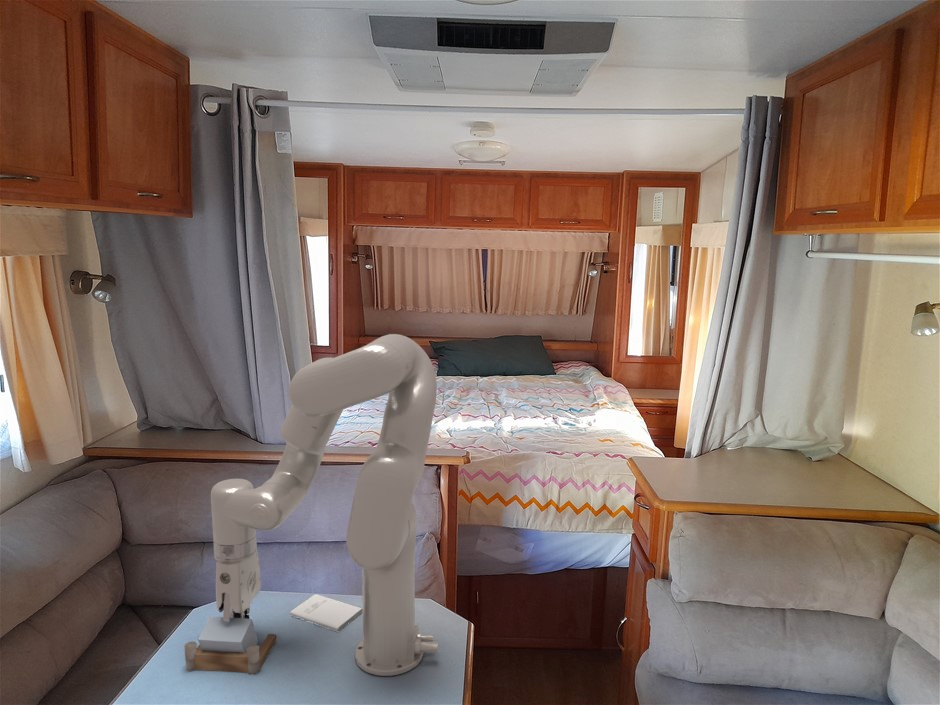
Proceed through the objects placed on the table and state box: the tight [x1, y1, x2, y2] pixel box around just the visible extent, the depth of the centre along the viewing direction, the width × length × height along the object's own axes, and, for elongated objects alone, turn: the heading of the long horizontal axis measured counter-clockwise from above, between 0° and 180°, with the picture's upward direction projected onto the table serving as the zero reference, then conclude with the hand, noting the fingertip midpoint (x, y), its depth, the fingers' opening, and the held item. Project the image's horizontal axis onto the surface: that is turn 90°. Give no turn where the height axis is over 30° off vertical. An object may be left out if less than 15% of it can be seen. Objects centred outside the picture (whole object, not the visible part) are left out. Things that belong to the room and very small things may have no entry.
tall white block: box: [197, 615, 258, 654], centre depth 121 cm, size 8×5×6 cm, turn 85°
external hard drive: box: [289, 593, 363, 633], centre depth 137 cm, size 2×8×12 cm
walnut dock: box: [183, 633, 277, 675], centre depth 122 cm, size 14×10×4 cm
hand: (240, 635), depth 126 cm, fingers closed
